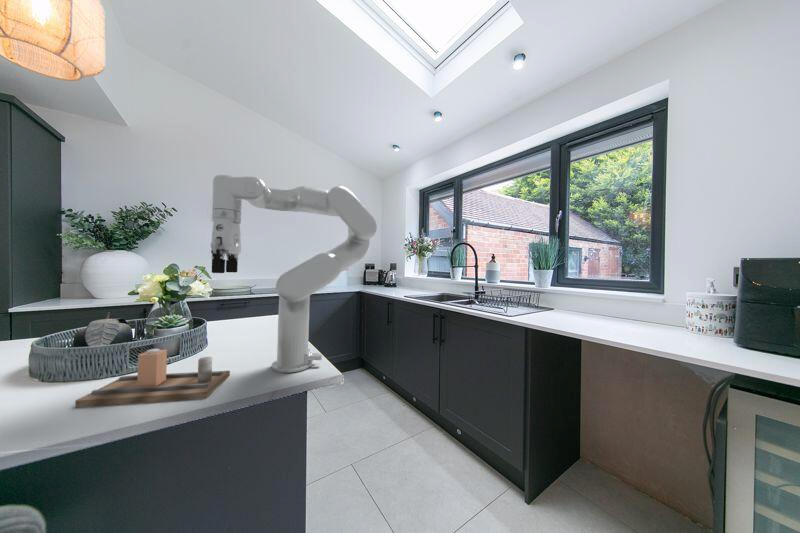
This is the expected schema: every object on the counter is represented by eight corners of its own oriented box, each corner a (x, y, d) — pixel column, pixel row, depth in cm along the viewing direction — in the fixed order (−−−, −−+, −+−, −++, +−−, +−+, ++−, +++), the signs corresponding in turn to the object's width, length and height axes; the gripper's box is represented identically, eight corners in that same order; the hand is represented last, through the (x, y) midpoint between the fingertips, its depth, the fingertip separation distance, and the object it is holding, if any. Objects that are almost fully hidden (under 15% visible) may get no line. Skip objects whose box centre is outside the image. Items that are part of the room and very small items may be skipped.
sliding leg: (166, 379, 72) (167, 347, 72) (155, 386, 68) (157, 352, 68) (148, 380, 71) (149, 347, 71) (137, 387, 67) (138, 352, 67)
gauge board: (229, 375, 79) (230, 350, 79) (206, 398, 66) (207, 367, 66) (124, 381, 74) (125, 354, 74) (75, 407, 60) (76, 373, 60)
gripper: (229, 212, 75) (227, 273, 75) (249, 222, 92) (248, 272, 92) (198, 210, 74) (196, 273, 73) (225, 221, 90) (223, 271, 90)
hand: (225, 272), depth 83 cm, fingers open, 9 cm apart
